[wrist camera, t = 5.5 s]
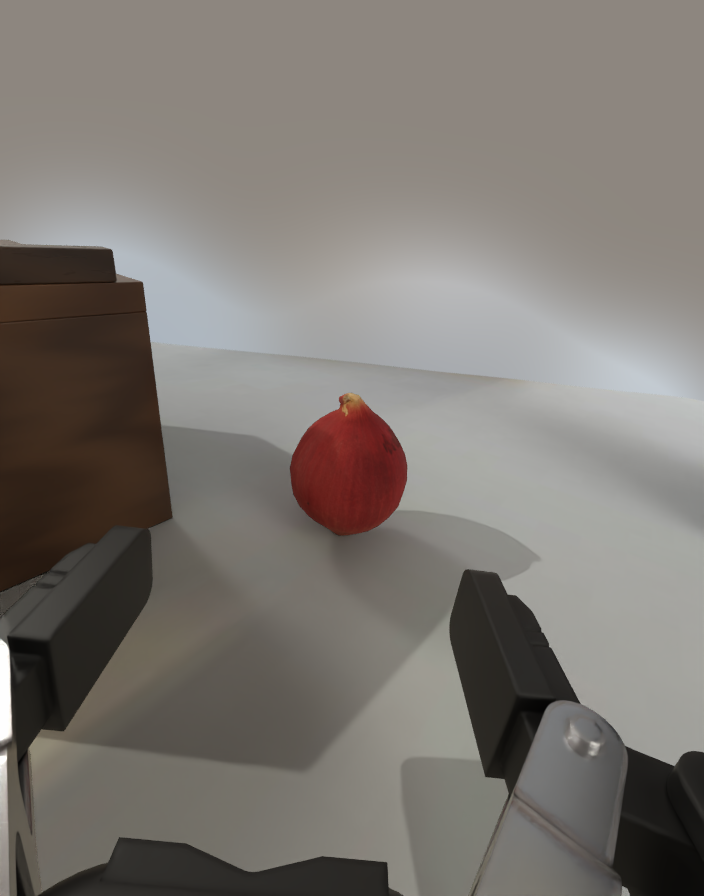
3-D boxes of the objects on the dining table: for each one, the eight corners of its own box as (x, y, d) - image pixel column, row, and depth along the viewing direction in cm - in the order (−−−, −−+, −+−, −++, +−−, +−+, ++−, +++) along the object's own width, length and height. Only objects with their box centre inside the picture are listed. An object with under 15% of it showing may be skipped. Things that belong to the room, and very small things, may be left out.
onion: (357, 491, 27) (371, 368, 23) (418, 545, 23) (446, 406, 19) (271, 517, 24) (272, 380, 20) (324, 585, 20) (336, 428, 16)
